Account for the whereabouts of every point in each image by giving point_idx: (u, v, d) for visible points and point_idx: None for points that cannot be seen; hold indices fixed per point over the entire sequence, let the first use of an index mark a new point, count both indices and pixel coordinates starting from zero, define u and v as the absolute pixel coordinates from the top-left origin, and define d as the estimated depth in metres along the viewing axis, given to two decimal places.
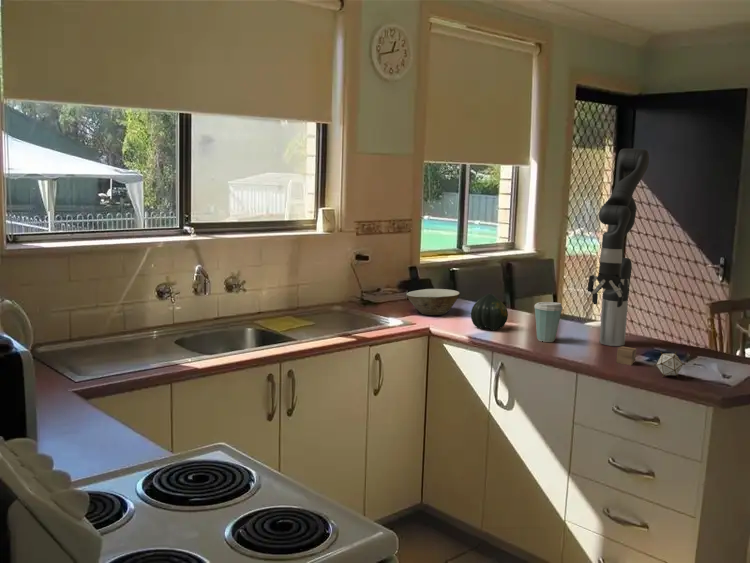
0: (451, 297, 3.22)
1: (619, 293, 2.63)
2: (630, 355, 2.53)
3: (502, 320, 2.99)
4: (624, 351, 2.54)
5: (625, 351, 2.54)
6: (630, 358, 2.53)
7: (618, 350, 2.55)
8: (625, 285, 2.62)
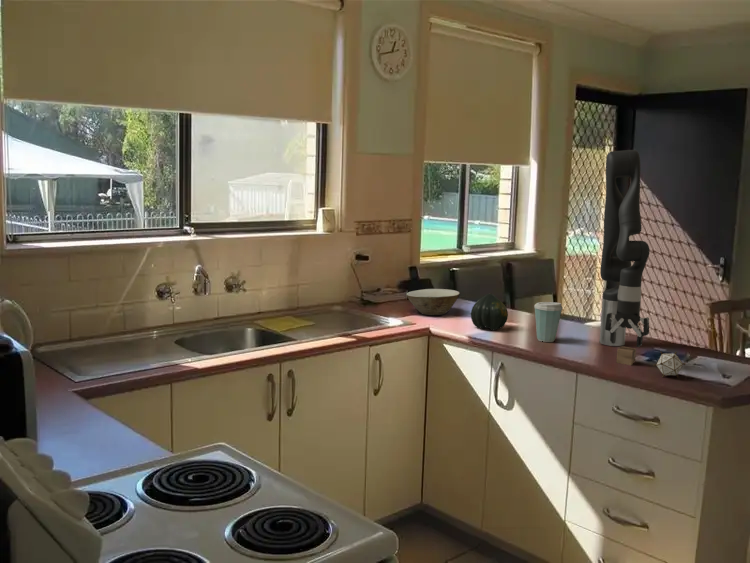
0: (451, 297, 3.22)
1: (638, 333, 2.51)
2: (630, 355, 2.53)
3: (502, 320, 2.99)
4: (624, 351, 2.54)
5: (625, 351, 2.54)
6: (630, 358, 2.53)
7: (618, 350, 2.55)
8: (645, 324, 2.49)
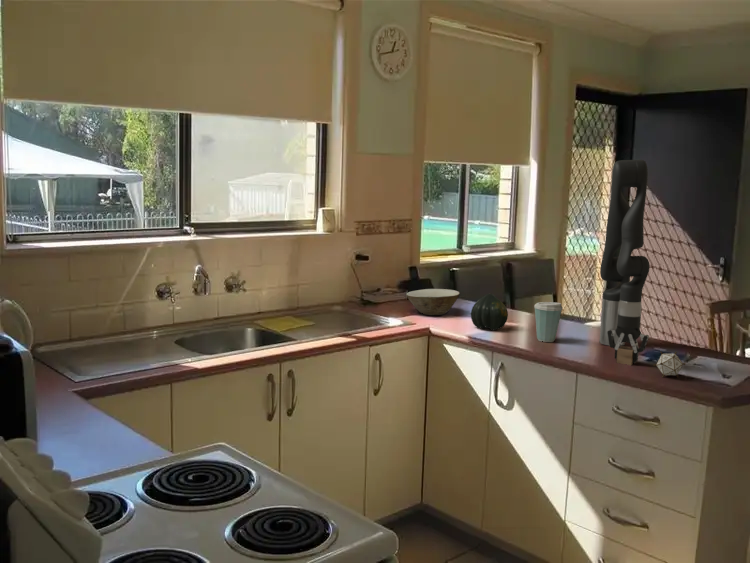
0: (451, 297, 3.22)
1: (634, 349, 2.53)
2: (630, 355, 2.53)
3: (502, 320, 2.99)
4: (624, 351, 2.54)
5: (625, 351, 2.54)
6: (630, 358, 2.53)
7: (618, 350, 2.55)
8: (643, 342, 2.51)
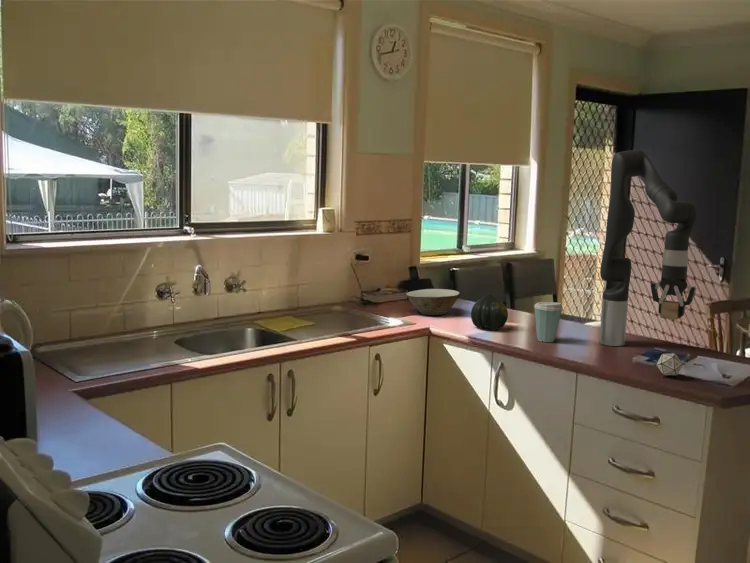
0: (451, 297, 3.22)
1: (680, 302, 2.35)
2: (676, 308, 2.34)
3: (502, 320, 2.99)
4: (669, 304, 2.35)
5: (670, 304, 2.35)
6: (676, 311, 2.34)
7: (662, 303, 2.36)
8: (690, 293, 2.33)
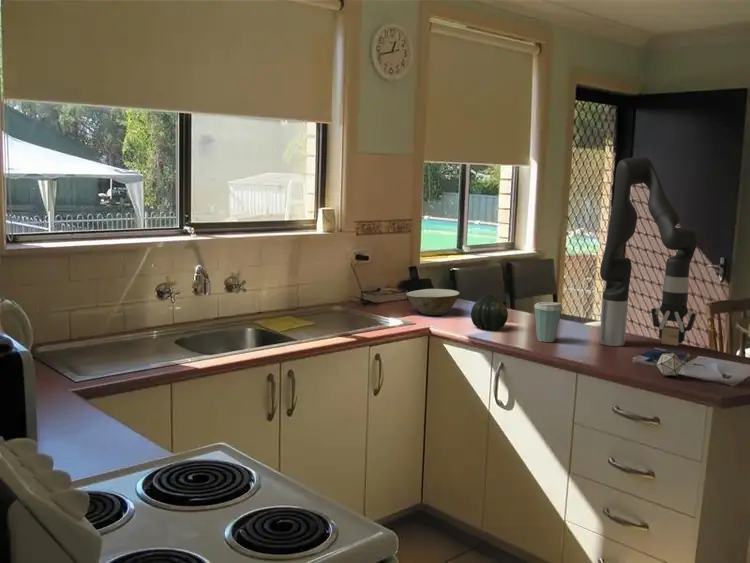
0: (451, 297, 3.22)
1: (681, 328, 2.36)
2: (676, 334, 2.35)
3: (502, 320, 2.99)
4: (670, 330, 2.36)
5: (671, 330, 2.36)
6: (676, 337, 2.35)
7: (663, 329, 2.38)
8: (691, 320, 2.34)
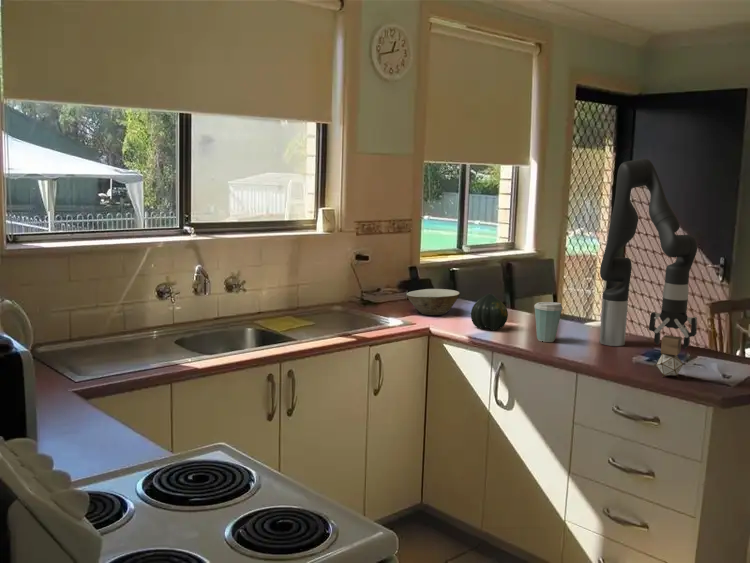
0: (451, 297, 3.22)
1: (685, 333, 2.35)
2: (676, 344, 2.36)
3: (502, 320, 2.99)
4: (669, 340, 2.37)
5: (670, 340, 2.37)
6: (676, 347, 2.36)
7: (663, 339, 2.38)
8: (693, 324, 2.34)
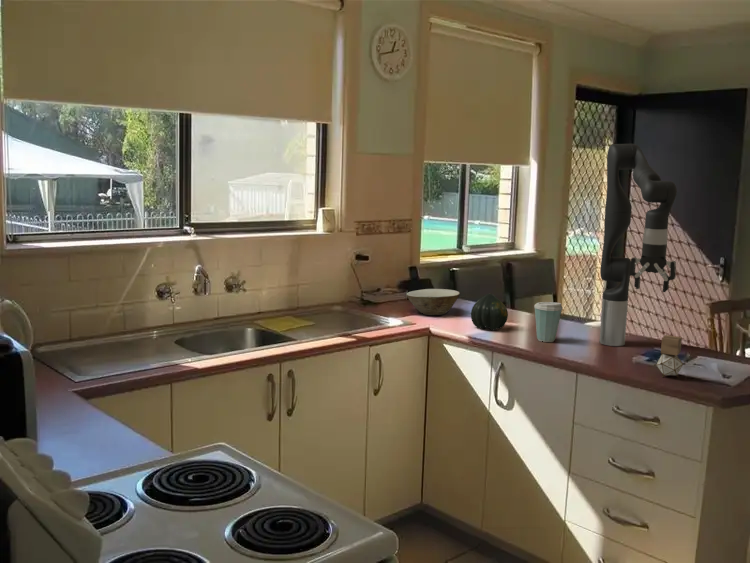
0: (451, 297, 3.22)
1: (665, 277, 2.42)
2: (676, 344, 2.36)
3: (502, 320, 2.99)
4: (669, 340, 2.37)
5: (670, 340, 2.37)
6: (676, 347, 2.36)
7: (663, 339, 2.38)
8: (672, 268, 2.40)
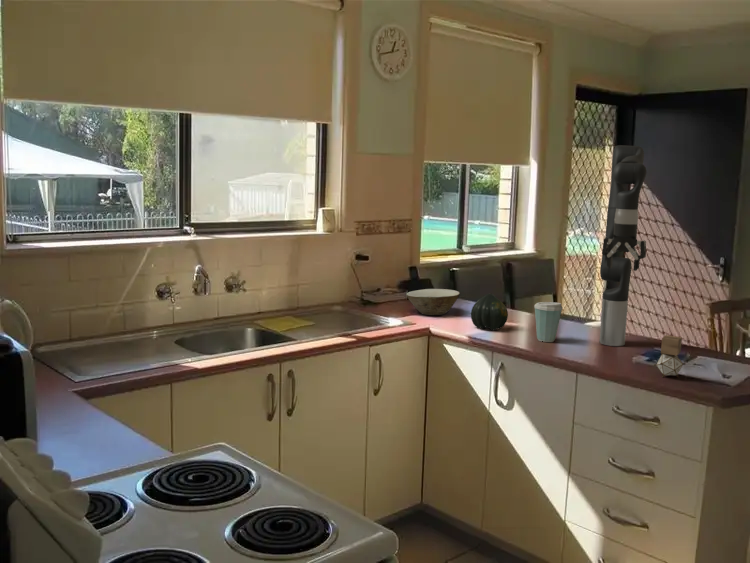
0: (451, 297, 3.22)
1: (635, 256, 2.51)
2: (676, 344, 2.36)
3: (502, 320, 2.99)
4: (669, 340, 2.37)
5: (670, 340, 2.37)
6: (676, 347, 2.36)
7: (663, 339, 2.38)
8: (642, 247, 2.49)
